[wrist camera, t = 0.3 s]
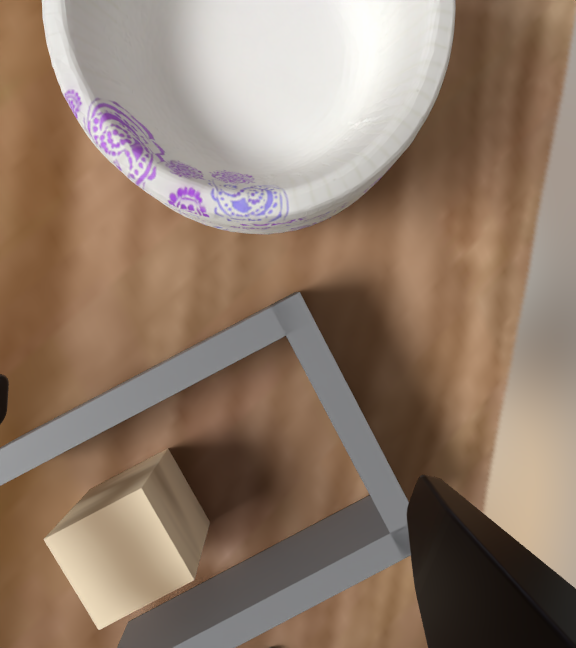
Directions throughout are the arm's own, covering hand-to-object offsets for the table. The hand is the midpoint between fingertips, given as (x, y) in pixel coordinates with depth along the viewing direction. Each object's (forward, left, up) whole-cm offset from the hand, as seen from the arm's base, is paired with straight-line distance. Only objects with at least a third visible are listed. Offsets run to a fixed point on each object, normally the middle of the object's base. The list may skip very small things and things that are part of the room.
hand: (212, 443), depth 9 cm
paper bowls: (+7, +12, -15) cm, 20 cm away
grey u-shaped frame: (-5, -5, -15) cm, 17 cm away
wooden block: (-9, -5, -15) cm, 18 cm away
